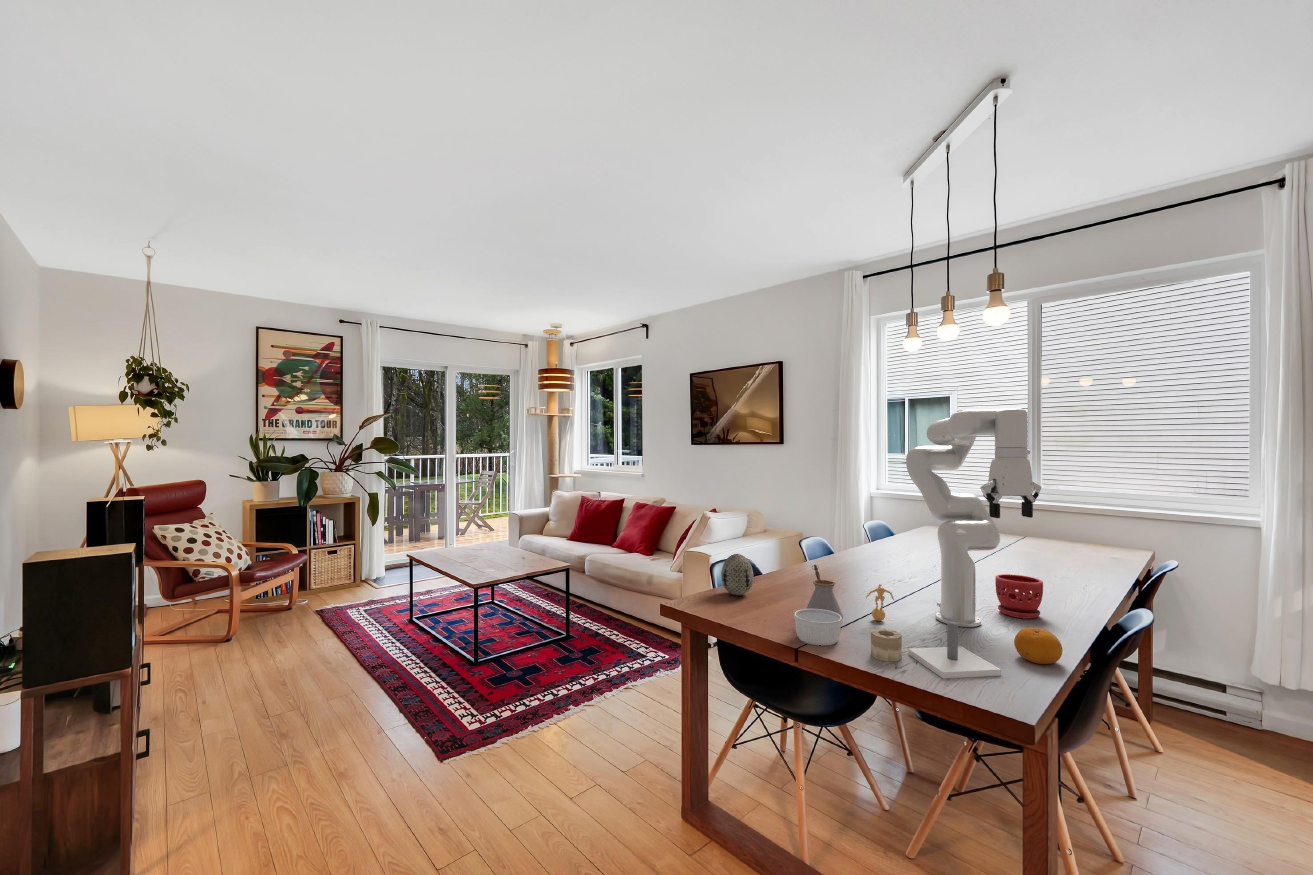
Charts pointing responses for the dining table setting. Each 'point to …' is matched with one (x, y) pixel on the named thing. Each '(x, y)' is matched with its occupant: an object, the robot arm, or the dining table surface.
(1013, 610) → the plant pot
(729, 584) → the decorative egg
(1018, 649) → the fruit
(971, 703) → the dining table surface
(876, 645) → the bead
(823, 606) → the coffee pot
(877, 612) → the figurine
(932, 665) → the post board
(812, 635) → the ramekin
